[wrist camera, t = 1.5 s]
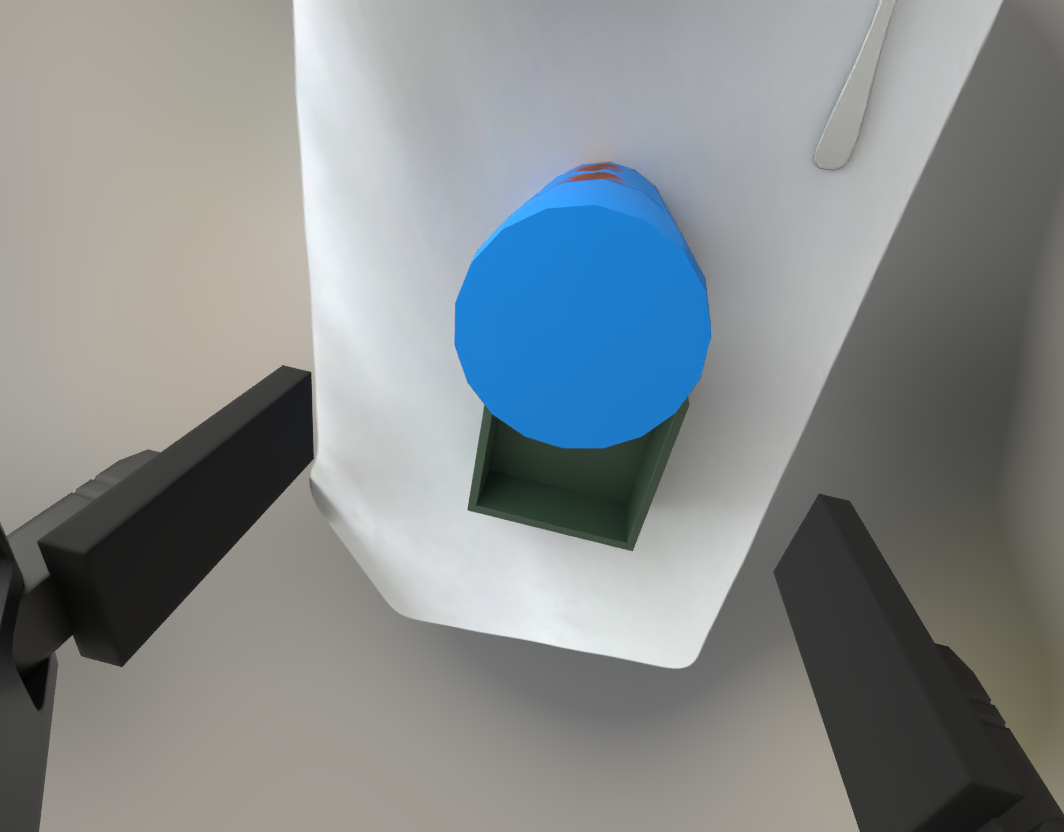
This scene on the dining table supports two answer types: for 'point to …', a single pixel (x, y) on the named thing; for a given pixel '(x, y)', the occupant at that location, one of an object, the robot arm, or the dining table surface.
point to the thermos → (584, 312)
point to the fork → (853, 96)
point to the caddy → (571, 481)
